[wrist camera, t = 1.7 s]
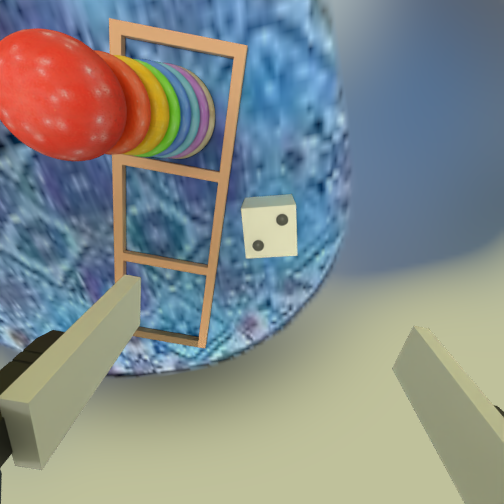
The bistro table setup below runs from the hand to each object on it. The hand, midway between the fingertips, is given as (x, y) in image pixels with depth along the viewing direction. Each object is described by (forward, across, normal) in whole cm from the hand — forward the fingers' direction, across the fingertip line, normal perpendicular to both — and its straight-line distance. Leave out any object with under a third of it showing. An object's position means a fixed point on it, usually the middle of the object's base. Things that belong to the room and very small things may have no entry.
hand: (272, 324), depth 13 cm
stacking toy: (+19, -11, +8) cm, 23 cm away
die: (+19, 0, 0) cm, 19 cm away
